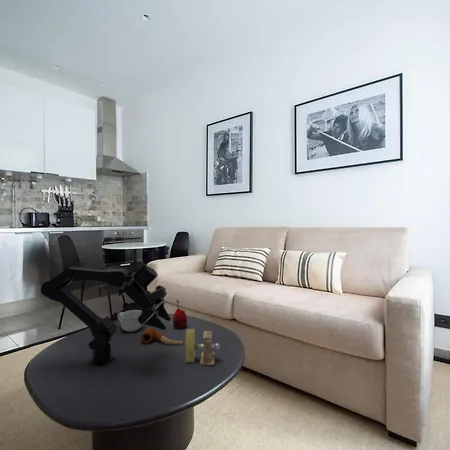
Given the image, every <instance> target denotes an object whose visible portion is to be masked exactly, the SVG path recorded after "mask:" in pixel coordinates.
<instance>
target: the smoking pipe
mask: <svg viewBox="0 0 450 450" xmlns="http://www.w3.org/2000/svg"><path fill="white" fill-rule="evenodd" d="M140 340H141V341H142V342H143V344H149V343H151V342H152V341H153V340H157V341H159V342H160V343H163V344H166V345H179V346H181V345H183V340H173V339H169V338H168V337H166V336H165V335H164V334H162V333H161V332H160V331H158V330H156V329H155V328H154V327H153V328H152V327H148V328H146V329H144V330H143V331H142V333H141V337H140Z"/></svg>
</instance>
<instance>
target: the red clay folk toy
mask: <svg viewBox="0 0 450 450" xmlns="http://www.w3.org/2000/svg"><path fill="white" fill-rule="evenodd" d="M175 301H176V304H177V305H176V306H177V308H176V310H175V312H174V314H173V317H172V319H173V320H172V323H173V327H174V328H175V329H184V328H187V326H188V317H187V314H186V311H185V310H183V309H181V308H179V304H180V301H179V299H178V298H175Z"/></svg>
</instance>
